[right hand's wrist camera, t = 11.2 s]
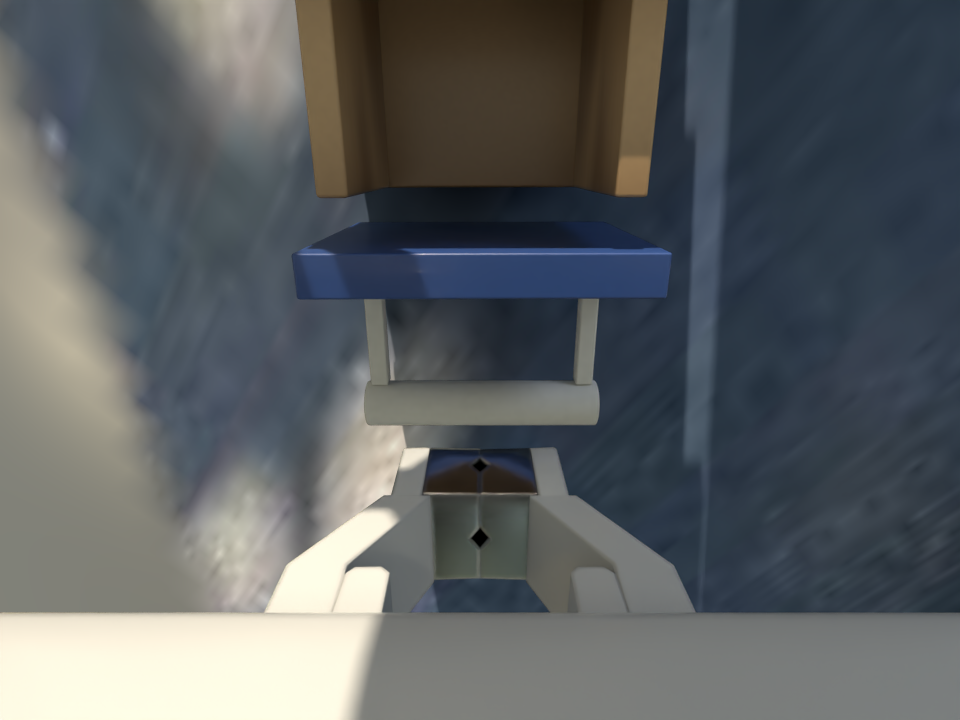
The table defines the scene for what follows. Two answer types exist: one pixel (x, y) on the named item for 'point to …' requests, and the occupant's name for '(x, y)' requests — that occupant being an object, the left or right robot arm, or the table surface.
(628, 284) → the drawer
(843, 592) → the table surface
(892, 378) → the table surface
